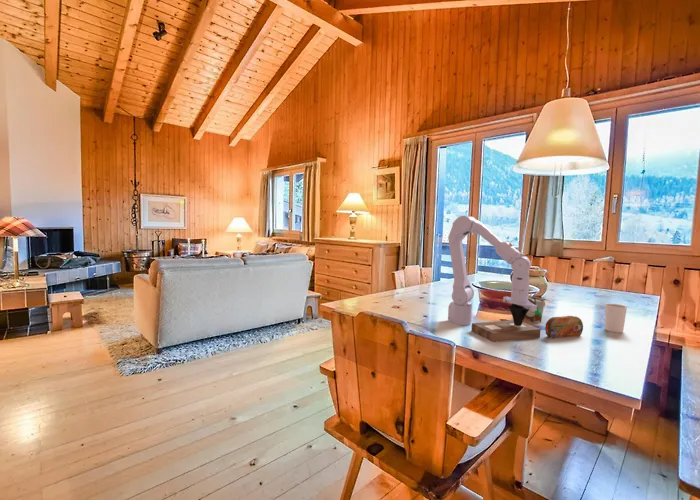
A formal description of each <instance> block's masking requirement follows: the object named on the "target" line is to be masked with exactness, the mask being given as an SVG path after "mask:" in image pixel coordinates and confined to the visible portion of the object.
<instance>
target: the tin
mask: <svg viewBox="0 0 700 500" xmlns="http://www.w3.org/2000/svg"><path fill="white" fill-rule="evenodd" d="M544 330H545V335H546V336H547V337H548V338H550V339H552V340H554V339H560V338H572V337H581V335H582V334H583V330H584V324H583V321H582V319H581V318H580V317H578V316H576V315H575V316H574V315H564V316H563V315H562V316H553V317H550V318H548V320H547V321H546V323H545V327H544Z"/></svg>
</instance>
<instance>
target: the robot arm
mask: <svg viewBox="0 0 700 500" xmlns="http://www.w3.org/2000/svg"><path fill="white" fill-rule="evenodd" d="M449 231H450V232H449V234H448V239H447V240H448V246H449V253H450V259H451V267H452V275H453V281H454V282H453V284H452V294H451V300H452V301H451V302H449V304H448V308H447V309H448V310H447V320H445V321H446V322H449V321H450V322H451V323H452V324H454V325H457V326H472V311H473V302H472V299H474V298H473V297H474V296H475V293H474V292H475V291H474V289H473V287H471V286H472V285H471V282H470V280H469V278H468V273H467V266H466V259H465V253H464V245H463V240H464V239H465V237H467V235H469V234H470V233H471V234H476V235H479V236H481V237H482V238H483V239H484V240H486V241H487V242H488V243H489V244H490V245H491V246H493V247H494V248H495V253H496V255H498V256H499V257H500V258H501V259H502V260H503V261H504V262H505V263H507V264H508V265H510V267H511V270H512V277H511V290H510V291H511V293H510V296H503V298H502V299H503V300H502V302H503V303H508V304H510V305H508V310H509V311H510V313H511V315H512V320H513V321H514V325H516V326H521V325H522V322H523V323H524V320H525V315H526V314H527V312H528V311H529V310H530V311H537V305H534V304H532V303H530V301H528V296H529V289H530V269H531V266H532V261H531V260H530V258H529V257H528V256H526V255H524V253H523V252H520V251H519V250H518V249H517V248H515V247H514V244H513V242H510V243H509V242H508V241H502V240H501V239H500V238H499V237H497V236H496V234H494V233H493V232H492V231H491V230H490V229H489V227H487V226H486V225H485V224H484V223H482V222H481V221H480V220H477V218H475V217H474V216H471V215H459V216H458V217H456V219H455V220H454V221H453V222H452V225H451V229H450V230H449Z"/></svg>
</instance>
